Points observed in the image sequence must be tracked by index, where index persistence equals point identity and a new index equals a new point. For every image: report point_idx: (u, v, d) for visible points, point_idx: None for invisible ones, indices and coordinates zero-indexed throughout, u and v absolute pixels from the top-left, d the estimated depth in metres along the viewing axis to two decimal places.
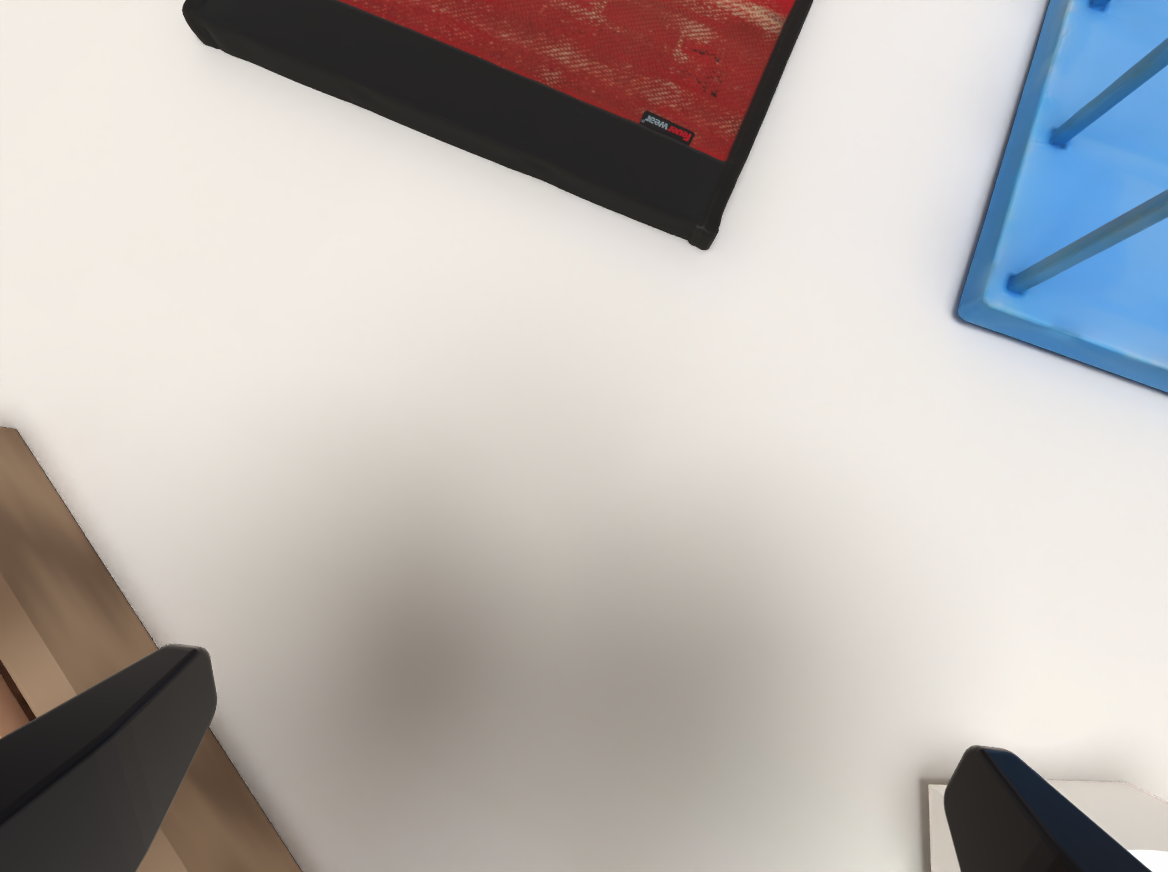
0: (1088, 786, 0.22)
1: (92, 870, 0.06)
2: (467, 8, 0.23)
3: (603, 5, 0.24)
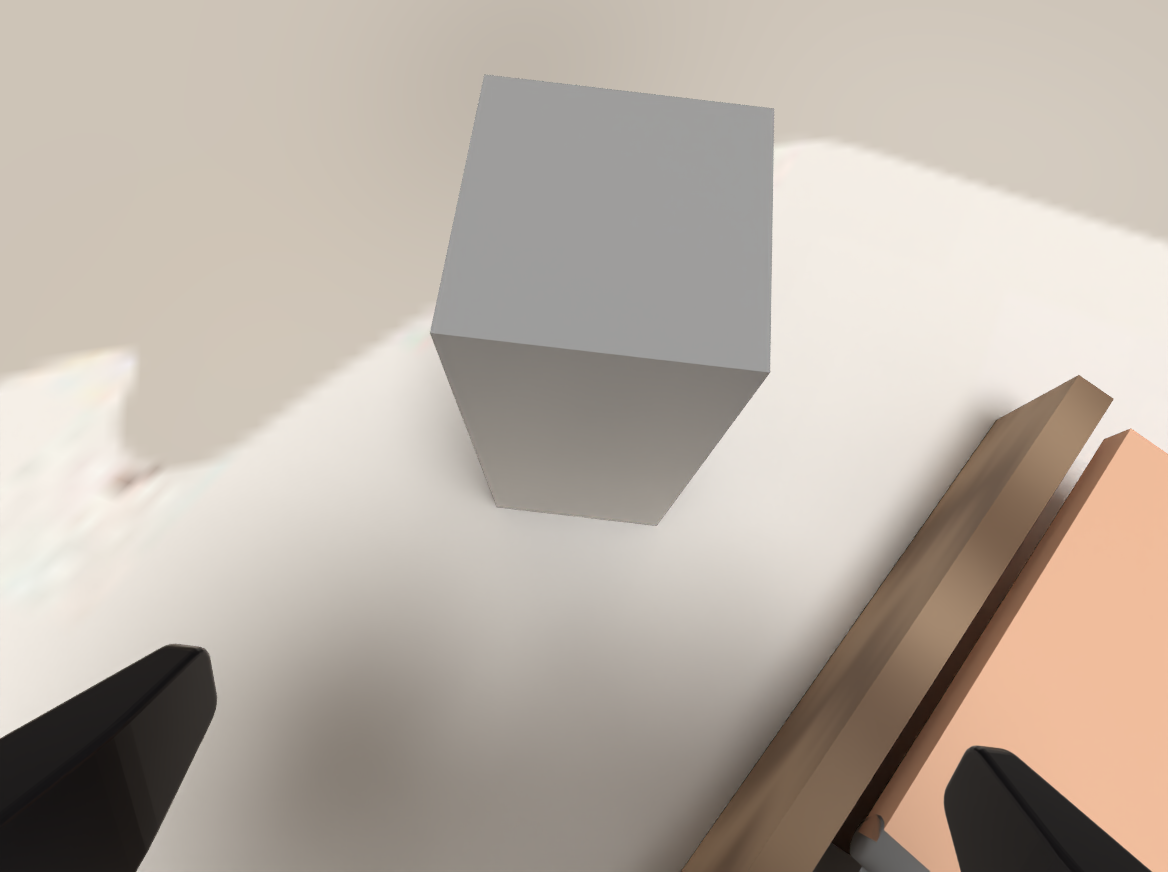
0: None
1: (92, 870, 0.06)
2: None
3: None
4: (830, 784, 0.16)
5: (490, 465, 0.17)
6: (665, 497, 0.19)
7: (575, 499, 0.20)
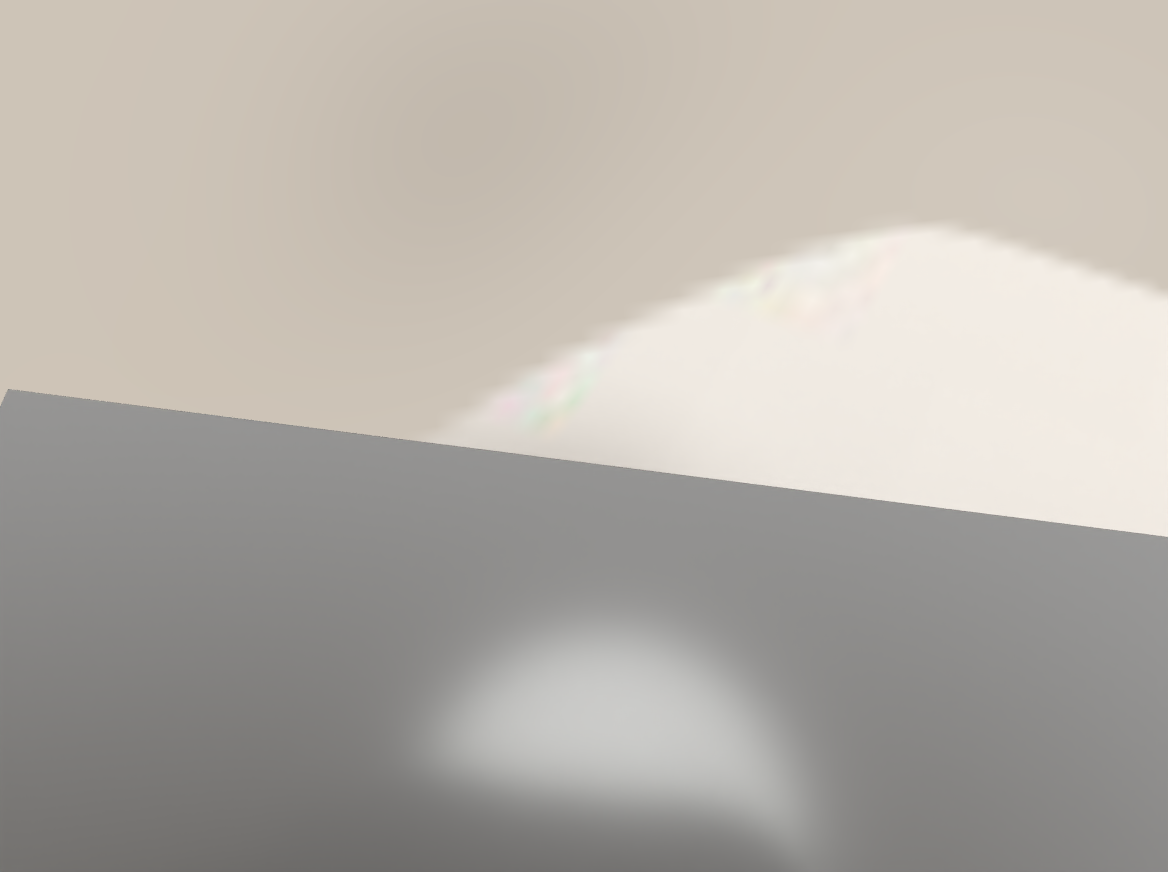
0: None
1: None
2: None
3: None
4: None
5: None
6: None
7: None
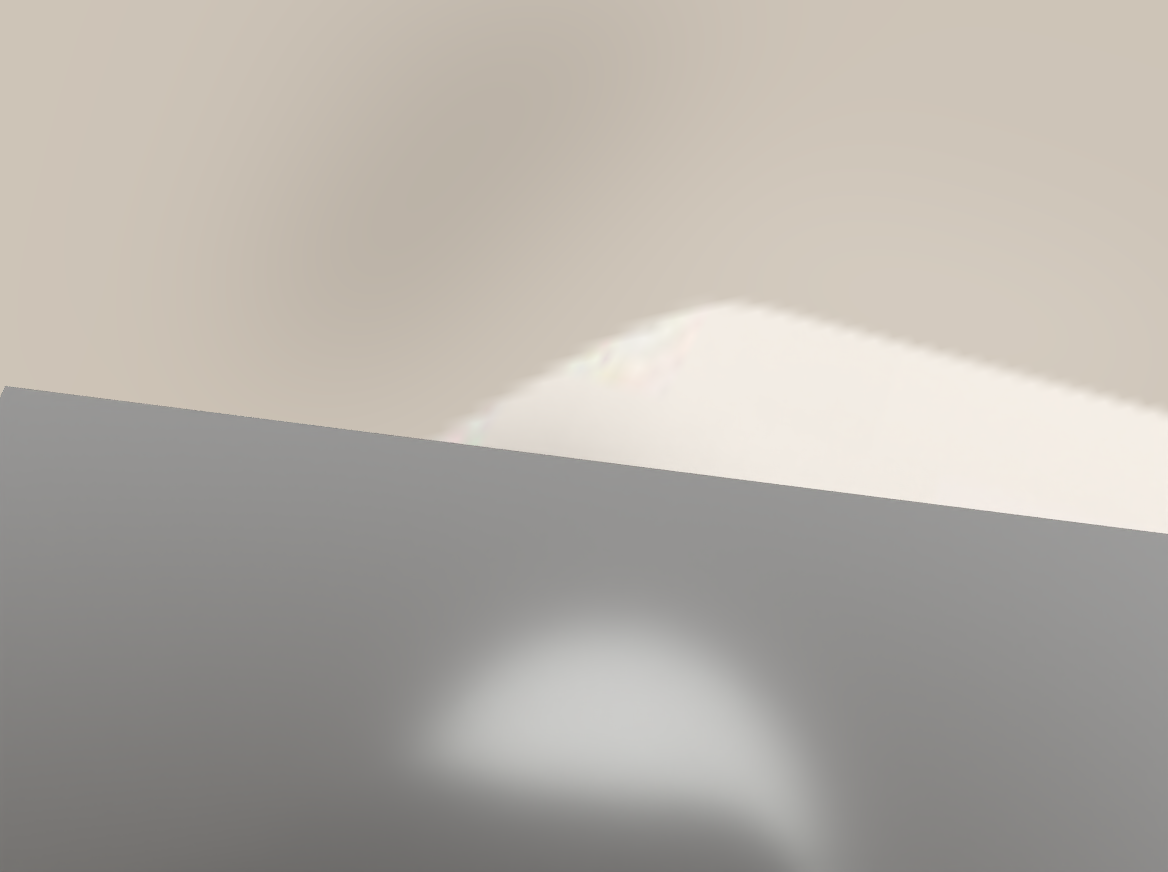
0: None
1: None
2: None
3: None
4: None
5: None
6: None
7: None
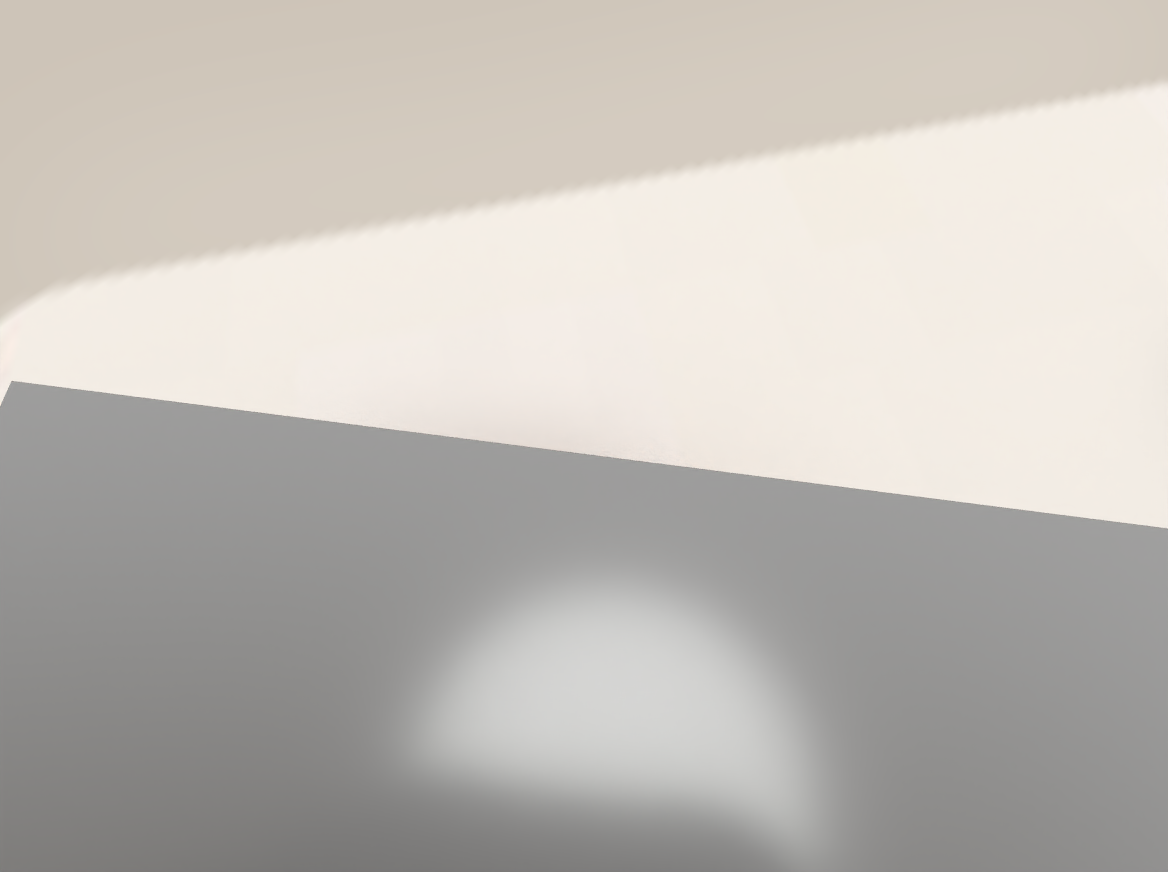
0: None
1: None
2: None
3: None
4: None
5: None
6: None
7: None
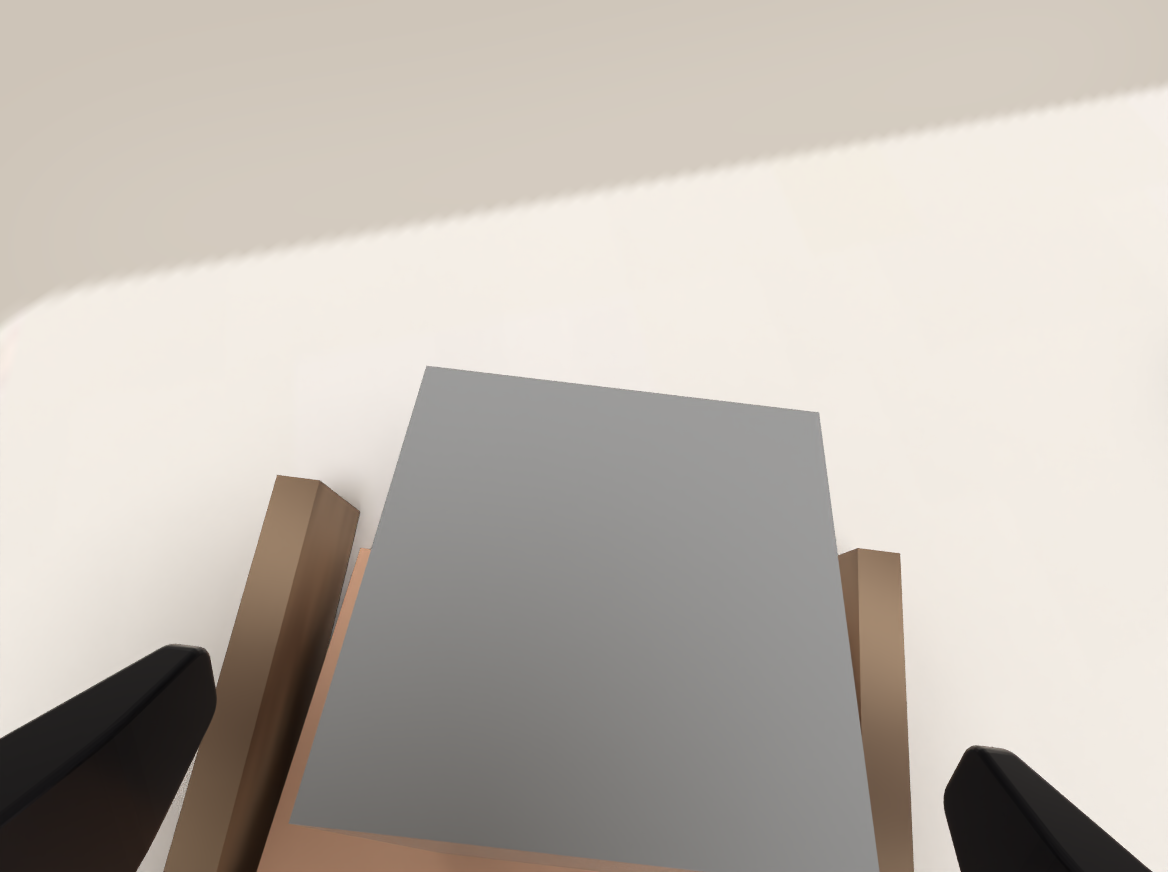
0: None
1: (92, 870, 0.06)
2: None
3: None
4: None
5: None
6: None
7: (547, 864, 0.14)
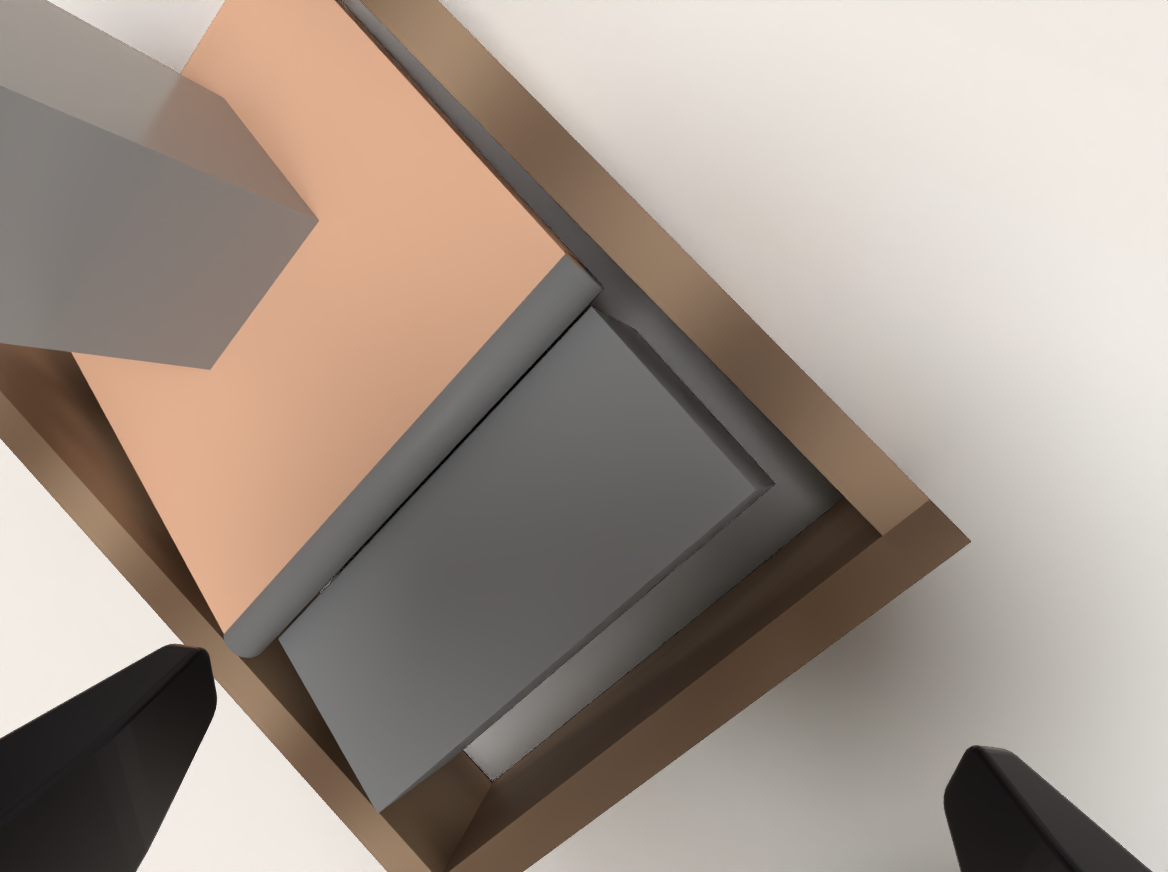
0: None
1: (92, 870, 0.06)
2: None
3: None
4: (212, 656, 0.19)
5: None
6: (167, 172, 0.14)
7: (174, 280, 0.16)
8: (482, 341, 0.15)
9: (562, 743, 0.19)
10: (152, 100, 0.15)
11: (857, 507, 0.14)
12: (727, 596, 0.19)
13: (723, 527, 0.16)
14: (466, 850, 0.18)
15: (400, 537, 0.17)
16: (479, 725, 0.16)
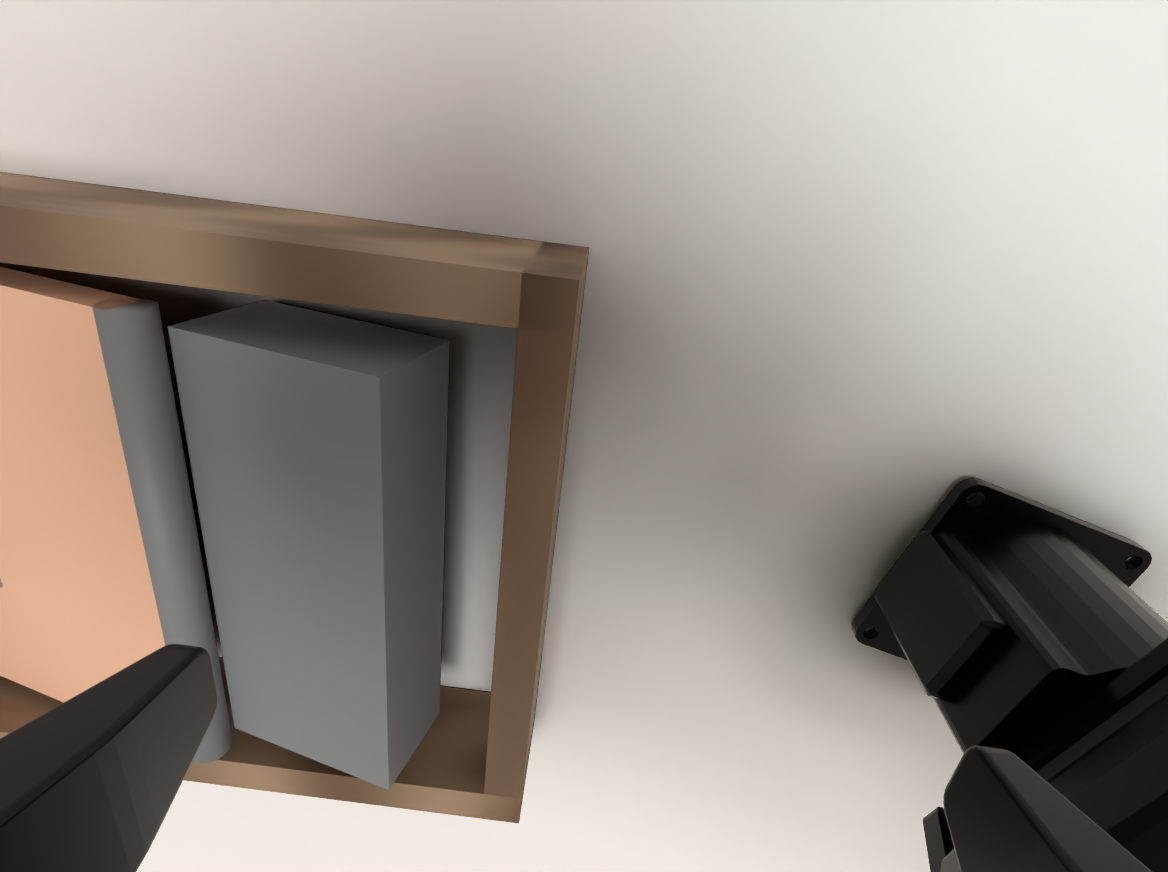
0: None
1: (92, 870, 0.06)
2: None
3: None
4: (205, 773, 0.21)
5: None
6: None
7: None
8: (113, 422, 0.15)
9: None
10: None
11: (482, 322, 0.14)
12: None
13: (443, 405, 0.17)
14: None
15: (228, 600, 0.18)
16: (386, 686, 0.17)
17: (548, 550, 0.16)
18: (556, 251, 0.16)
